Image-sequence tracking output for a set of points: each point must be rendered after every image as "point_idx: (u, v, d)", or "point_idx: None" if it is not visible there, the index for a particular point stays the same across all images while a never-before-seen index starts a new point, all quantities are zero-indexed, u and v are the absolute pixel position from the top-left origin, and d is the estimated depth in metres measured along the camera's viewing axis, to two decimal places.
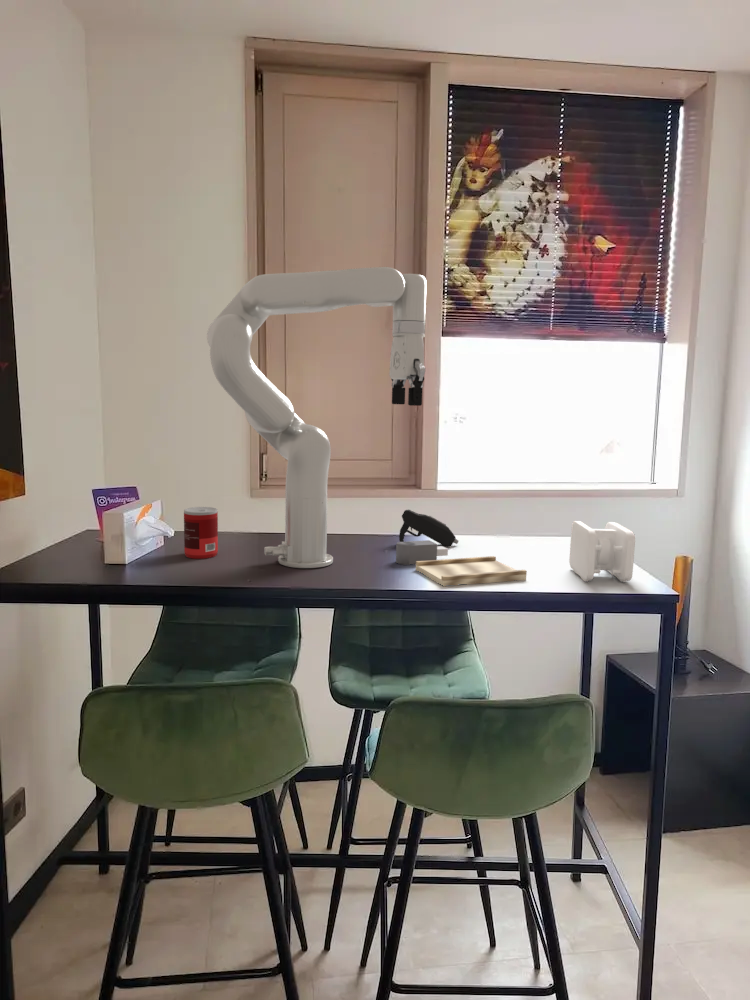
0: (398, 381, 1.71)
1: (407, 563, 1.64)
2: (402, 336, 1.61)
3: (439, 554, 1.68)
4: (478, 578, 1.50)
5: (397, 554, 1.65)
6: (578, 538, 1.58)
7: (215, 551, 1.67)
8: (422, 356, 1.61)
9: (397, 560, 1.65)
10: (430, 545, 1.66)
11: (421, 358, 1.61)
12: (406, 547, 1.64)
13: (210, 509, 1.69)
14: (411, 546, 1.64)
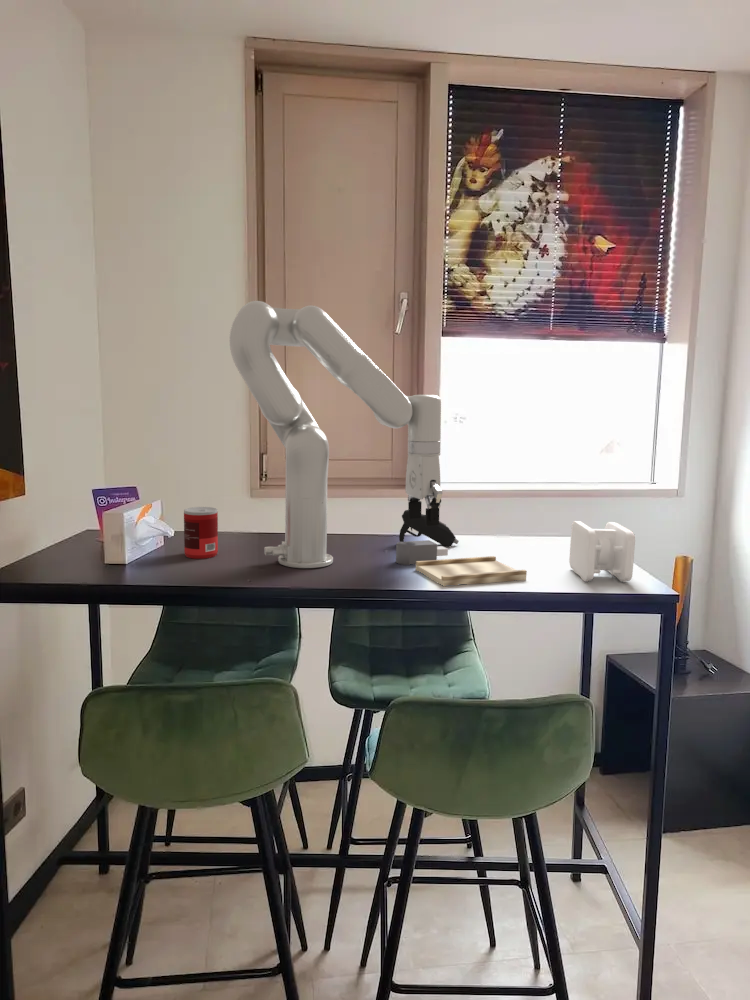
0: None
1: (407, 563, 1.64)
2: (418, 457, 1.61)
3: (439, 554, 1.68)
4: (478, 578, 1.50)
5: (397, 554, 1.65)
6: (578, 538, 1.58)
7: (215, 551, 1.67)
8: (438, 476, 1.61)
9: (397, 560, 1.65)
10: (430, 545, 1.66)
11: (437, 479, 1.60)
12: (406, 547, 1.64)
13: (210, 509, 1.69)
14: (411, 546, 1.64)
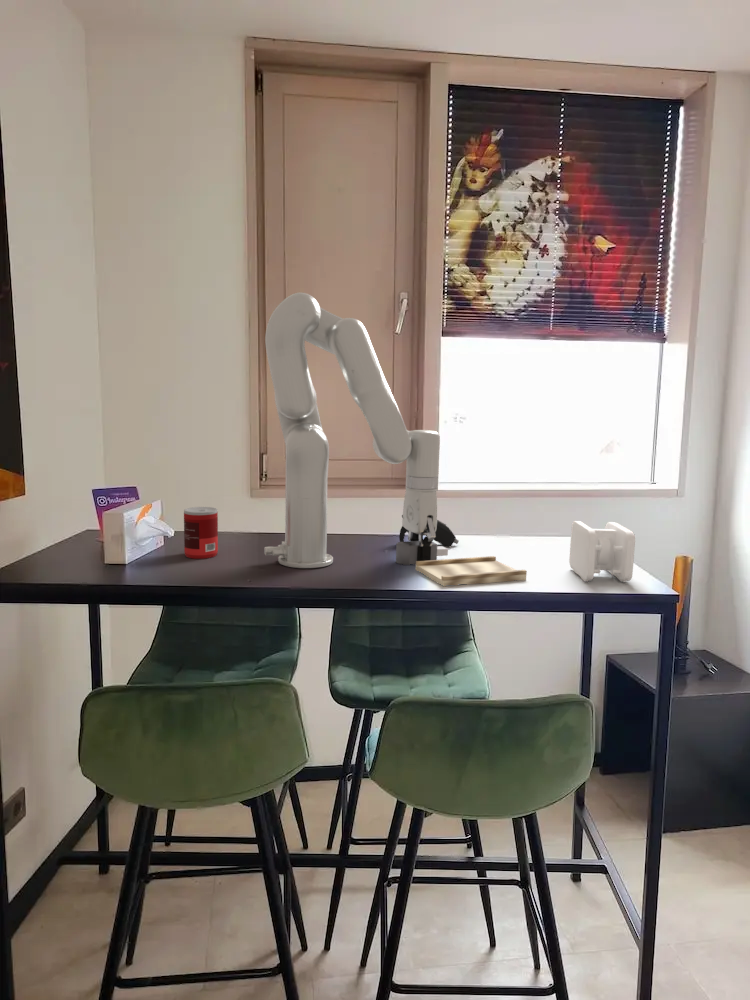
0: None
1: (407, 563, 1.64)
2: (415, 492, 1.62)
3: (439, 554, 1.68)
4: (478, 578, 1.50)
5: (397, 554, 1.65)
6: (578, 538, 1.58)
7: (215, 551, 1.67)
8: (435, 512, 1.62)
9: (397, 560, 1.65)
10: None
11: (434, 514, 1.62)
12: (406, 547, 1.64)
13: (210, 509, 1.69)
14: (411, 546, 1.64)
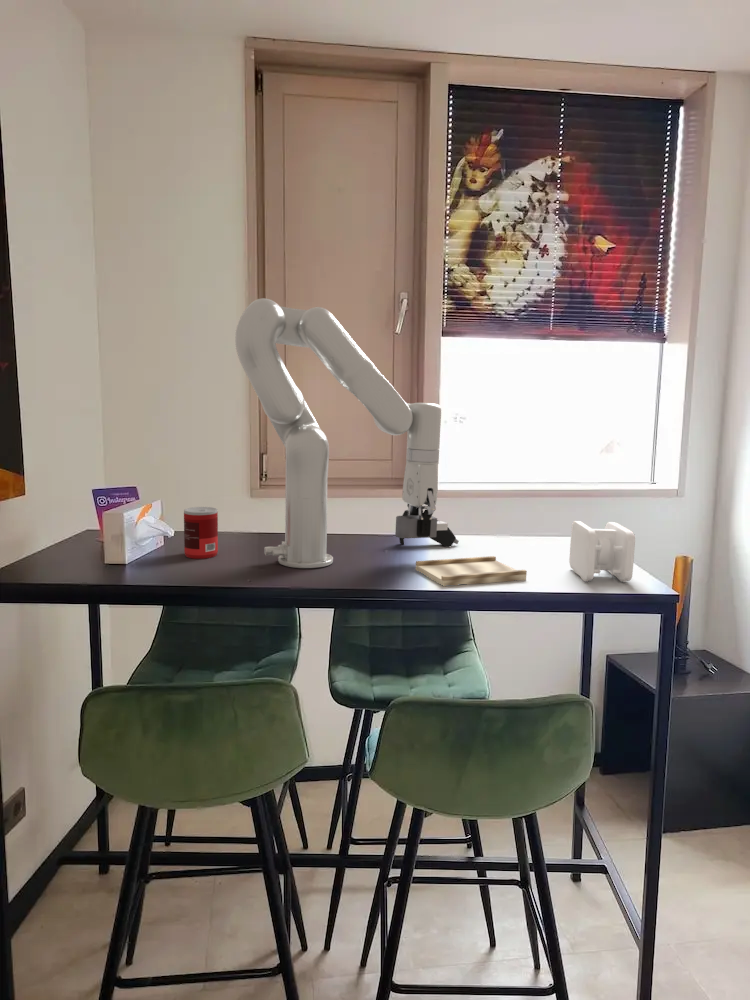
0: None
1: (407, 536, 1.63)
2: (416, 465, 1.61)
3: (439, 528, 1.67)
4: (478, 578, 1.50)
5: (397, 527, 1.64)
6: (578, 538, 1.58)
7: (215, 551, 1.67)
8: (436, 485, 1.61)
9: (397, 534, 1.64)
10: None
11: (435, 487, 1.61)
12: (406, 520, 1.63)
13: (210, 509, 1.69)
14: (411, 519, 1.63)
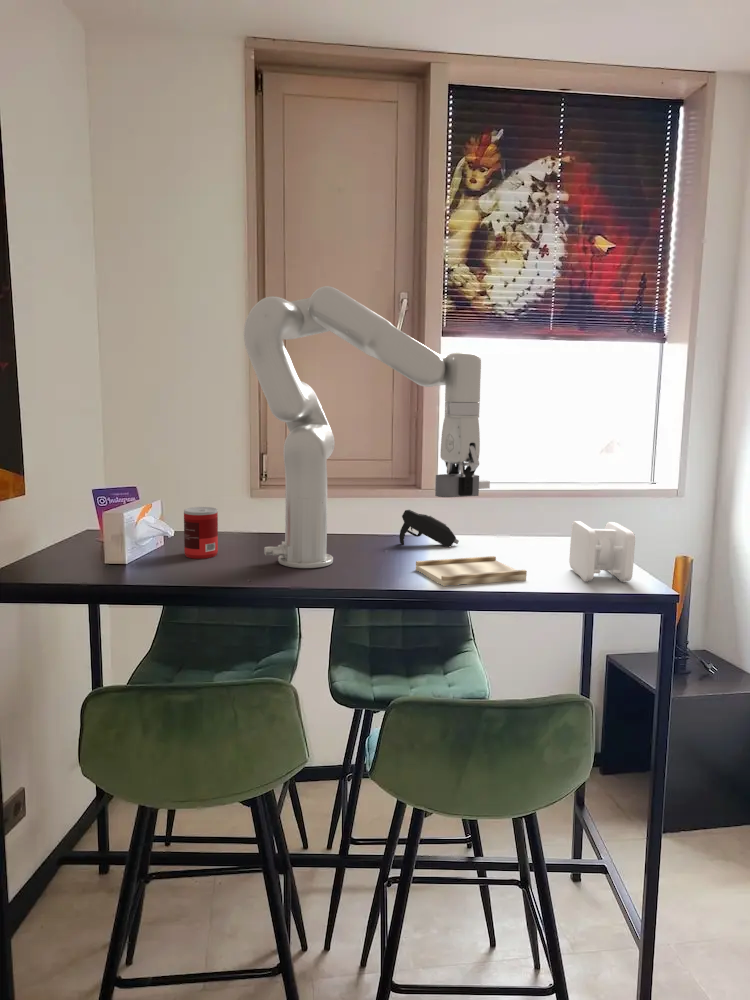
0: None
1: (448, 495, 1.54)
2: (456, 418, 1.52)
3: (481, 487, 1.57)
4: (478, 578, 1.50)
5: (437, 486, 1.55)
6: (578, 538, 1.58)
7: (215, 551, 1.67)
8: (478, 439, 1.52)
9: (437, 493, 1.55)
10: None
11: (477, 442, 1.51)
12: (447, 478, 1.53)
13: (210, 509, 1.69)
14: (452, 477, 1.54)
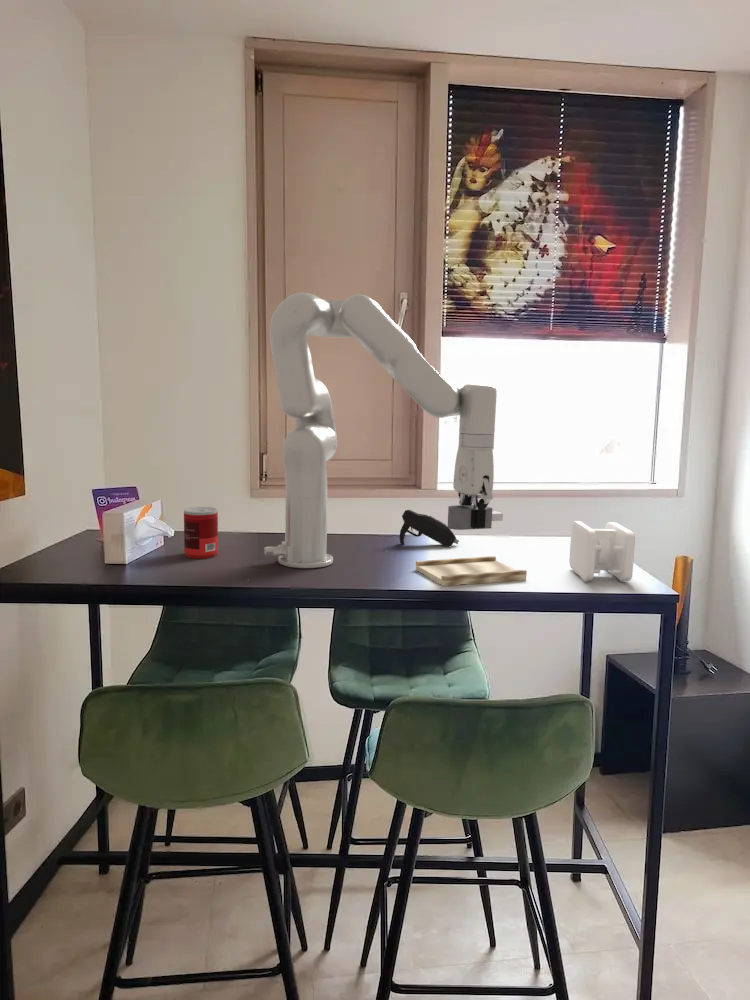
0: None
1: (460, 528, 1.52)
2: (470, 450, 1.50)
3: (494, 519, 1.55)
4: (478, 578, 1.50)
5: (449, 518, 1.53)
6: (578, 538, 1.58)
7: (215, 551, 1.67)
8: (492, 472, 1.49)
9: (449, 525, 1.53)
10: None
11: (491, 474, 1.49)
12: (460, 510, 1.51)
13: (210, 509, 1.69)
14: (465, 509, 1.51)
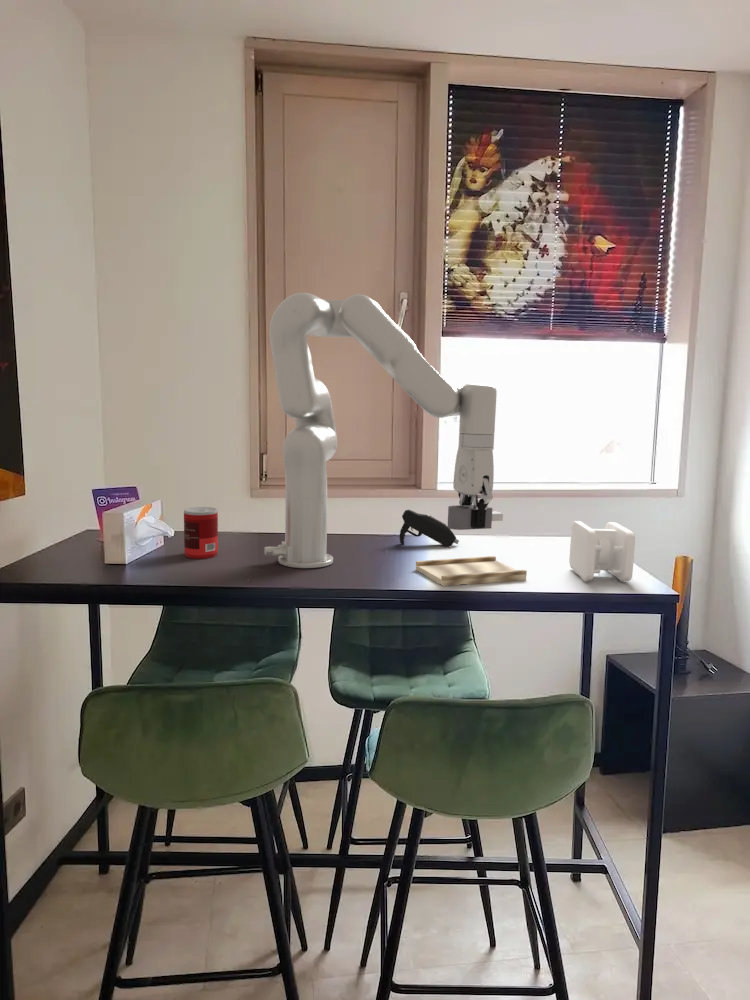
0: None
1: (460, 528, 1.52)
2: (470, 450, 1.50)
3: (494, 519, 1.55)
4: (478, 578, 1.50)
5: (449, 518, 1.53)
6: (578, 538, 1.58)
7: (215, 551, 1.67)
8: (492, 472, 1.49)
9: (449, 525, 1.53)
10: None
11: (491, 474, 1.49)
12: (460, 510, 1.51)
13: (210, 509, 1.69)
14: (465, 509, 1.51)
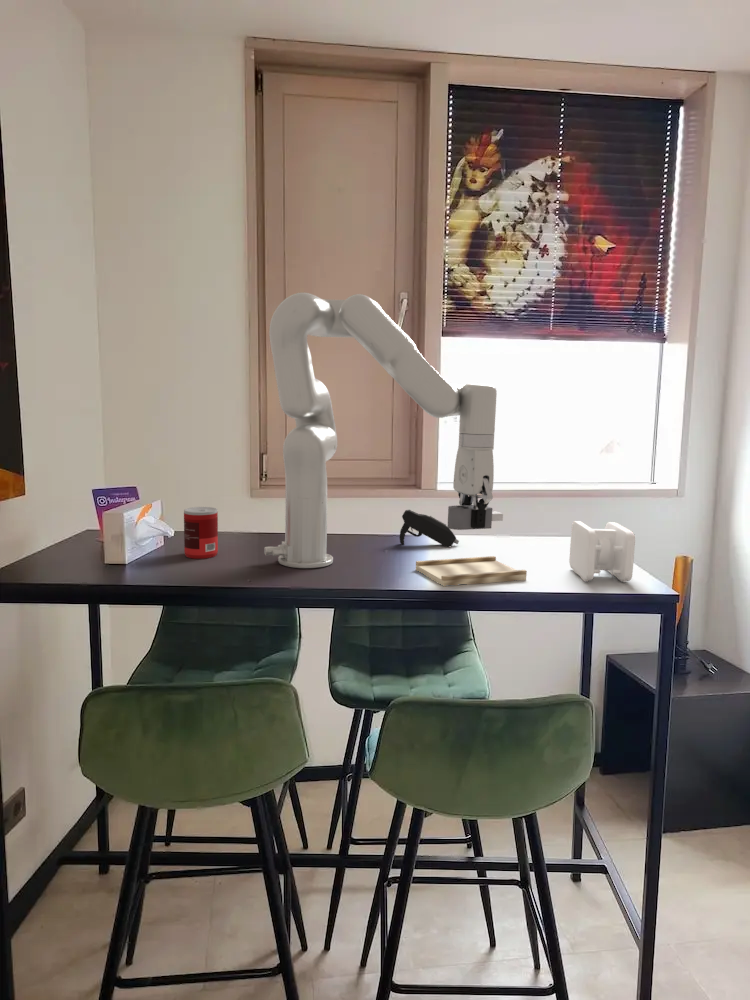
0: None
1: (460, 528, 1.52)
2: (470, 450, 1.50)
3: (494, 519, 1.55)
4: (478, 578, 1.50)
5: (449, 518, 1.53)
6: (578, 538, 1.58)
7: (215, 551, 1.67)
8: (492, 472, 1.49)
9: (449, 525, 1.53)
10: None
11: (491, 474, 1.49)
12: (460, 510, 1.51)
13: (210, 509, 1.69)
14: (465, 509, 1.51)
